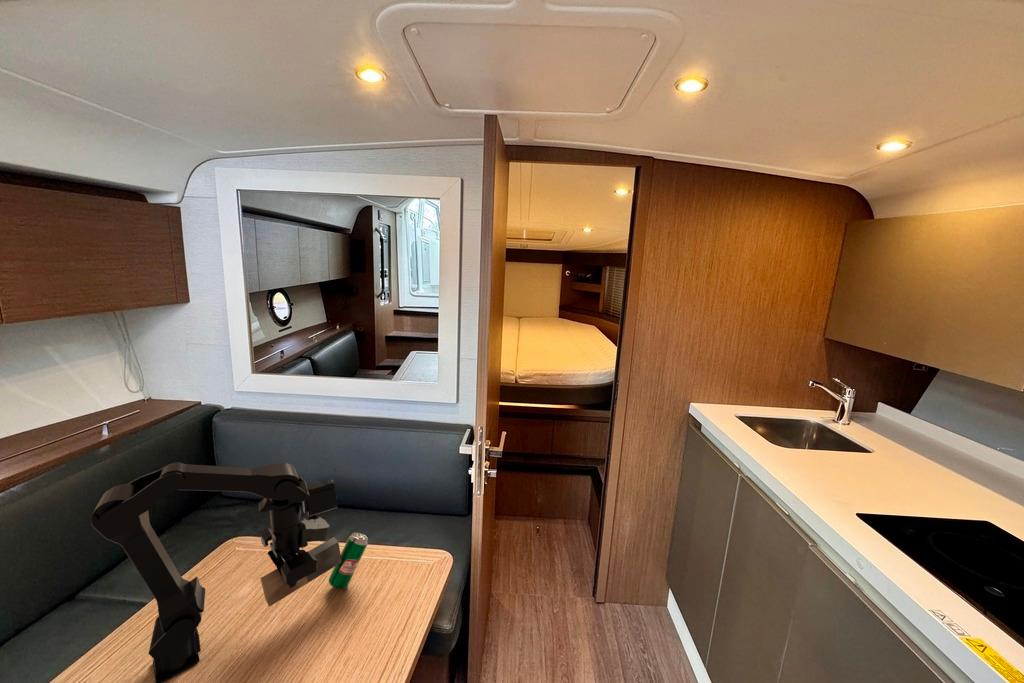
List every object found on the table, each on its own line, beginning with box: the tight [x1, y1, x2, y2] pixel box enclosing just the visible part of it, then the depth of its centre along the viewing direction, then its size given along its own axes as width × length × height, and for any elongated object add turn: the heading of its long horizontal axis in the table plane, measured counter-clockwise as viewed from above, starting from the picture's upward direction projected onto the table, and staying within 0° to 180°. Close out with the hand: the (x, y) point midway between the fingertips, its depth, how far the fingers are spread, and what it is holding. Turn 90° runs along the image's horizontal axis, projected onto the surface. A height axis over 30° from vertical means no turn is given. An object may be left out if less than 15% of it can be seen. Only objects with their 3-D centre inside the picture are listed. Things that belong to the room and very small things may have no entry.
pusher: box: [260, 536, 342, 608], centre depth 89 cm, size 16×2×6 cm, turn 137°
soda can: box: [328, 532, 369, 590], centre depth 98 cm, size 5×5×12 cm
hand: (290, 583), depth 88 cm, fingers closed on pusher, 2 cm apart
